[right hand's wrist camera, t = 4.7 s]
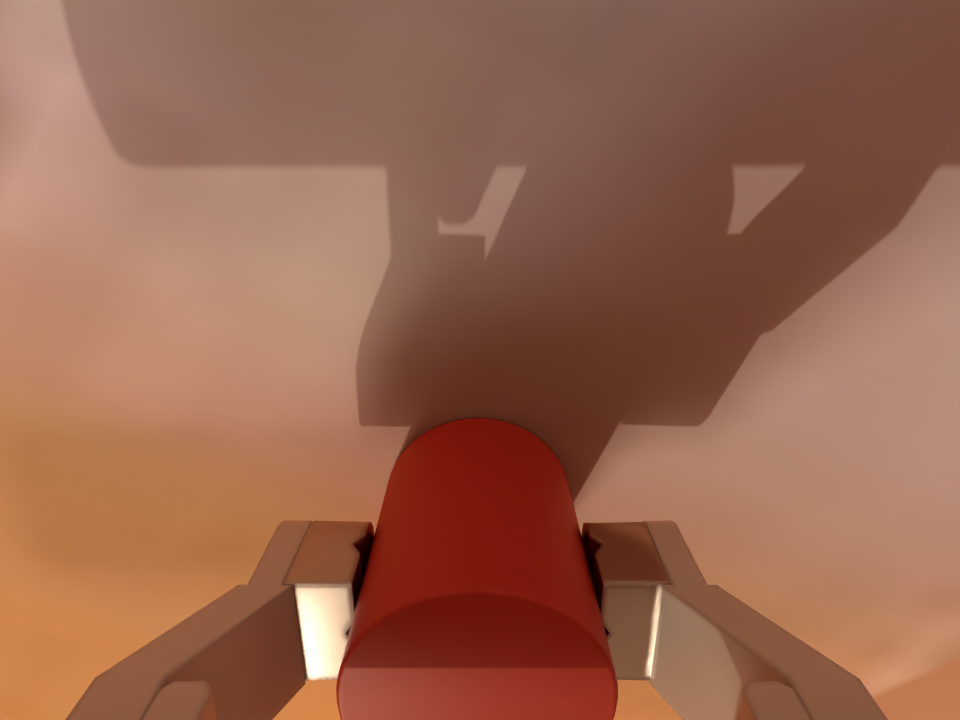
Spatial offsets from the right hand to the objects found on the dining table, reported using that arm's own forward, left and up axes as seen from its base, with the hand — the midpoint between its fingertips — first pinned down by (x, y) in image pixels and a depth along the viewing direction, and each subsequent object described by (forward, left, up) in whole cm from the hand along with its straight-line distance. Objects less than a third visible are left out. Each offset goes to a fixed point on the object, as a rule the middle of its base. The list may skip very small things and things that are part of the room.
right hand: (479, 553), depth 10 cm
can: (0, 0, -2) cm, 2 cm away
